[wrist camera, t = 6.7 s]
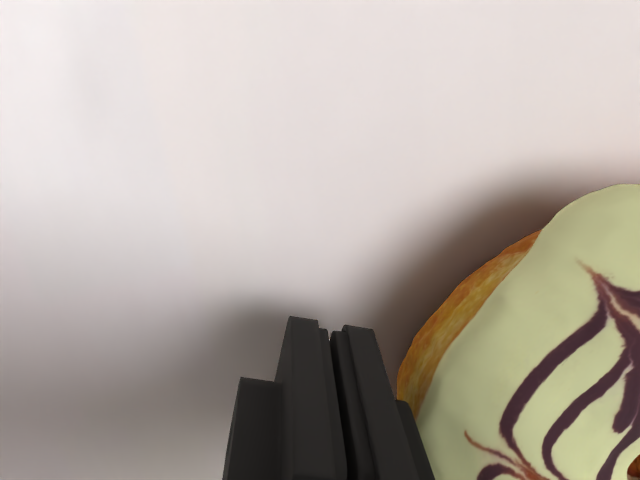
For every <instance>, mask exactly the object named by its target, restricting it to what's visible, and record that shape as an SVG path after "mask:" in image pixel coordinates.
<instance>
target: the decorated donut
mask: <svg viewBox="0 0 640 480" xmlns="http://www.w3.org/2000/svg"><path fill="white" fill-rule="evenodd" d="M397 400H402V401H406V402H407V403H408V404H409V406H410V408H411V410H412V413H413V416H414V419H415V422H416V425H417V428H418V431H419V434H420V436H421V439H422V442H423V445H424V448H425V451H426V454H427V457H428V460H429V462H430V465H431V468H432V471H433V474H434V477H435V480H640V184H617V185H613V186H610V187H607V188H604V189H601V190H598V191H595V192H591V193H589V194H586V195H584V196H582V197H580V198H579V199H577V200H575V201H573V202H572V203H570V204H568V205H567V206H565V207H564V208H563V209H561V210H560V211H559V212H558V213H557V214H556V215H555V216H554V217H553V219H552V220H551V221H550V222H549V223H548V224H547V225H546V226H545V227H544V228H543V229H541V230H538V231H536V232H534V233H532V234H530V235H528V236H525V237H524V238H522V239H521V240H520V241H518V242H516V243H514V244H512V245H510V246H508V247H507V248H505V249H504V250H503V251H502V252H501V253H500V254H499V255H498V256H496V257H495V258H493V259H492V260H490V261H488V262H487V263H485V264H484V265H483V266H481V267H480V268H479V269H478V270H476V271H475V272H473V273H472V274H470V275H469V276H468V277H467V278H466V279H464V280H462V282H461V283H460V284H459V285H458V286H457V288H456V289H455V290H454V291H453V292H452V293H451V294H450V295H449V297H448V298H447V299H446V300H445V301H444V303H443V304H441V306H440V307H439V308H438V310H437V311H436V312H435V313H434V314H433V315H432V316H431V317H430V318H429V319H428V320H427V322H426V323H425V325H424V326H423V327H422V328H421V329H420V330H419V332H418V333H417V334H416V336H415V337H414V339H413V341H412V345H411V346H410V348H409V350H408V352H407V354H406V357H405V358H404V360H403V361H402V364H401V366H400V368H399V372H398V375H397Z"/></svg>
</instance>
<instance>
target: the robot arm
mask: <svg viewBox="0 0 640 480" xmlns="http://www.w3.org/2000/svg"><path fill="white" fill-rule="evenodd" d="M222 480H435V477H434V474H433V471H432V468H431V465H430V462H429V460H428V457H427V454H426V451H425V448H424V445H423V442H422V439H421V436H420V434H419V431H418V428H417V425H416V422H415V419H414V416H413V413H412V410H411V408H410V406H409V404H408V403H407V402H406V401H402V400H395V399H394V395H393V392H392V389H391V386H390V383H389V379H388V376H387V373H386V370H385V366H384V363H383V360H382V357H381V353H380V350H379V347H378V344H377V341H376V337H375V334H374V331H373V329H368V328H361V327H355V326H349V325H344V326H343V328H342V331H333V332H332V334H331V337H330V341H329V337H328V331H327V329H323V328H319V325H318V320H313V319H307V318H301V317H294V316H290V317H289V319H288V323H287V327H286V331H285V336H284V340H283V345H282V349H281V354H280V358H279V363H278V367H277V372H276V376H275V381H274V382H272V381H265V380H258V379H251V378H244V377H241V378H240V381H239V386H238V391H237V396H236V401H235V406H234V411H233V417H232V422H231V428H230V433H229V439H228V445H227V451H226V458H225V465H224V471H223V478H222Z"/></svg>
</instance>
